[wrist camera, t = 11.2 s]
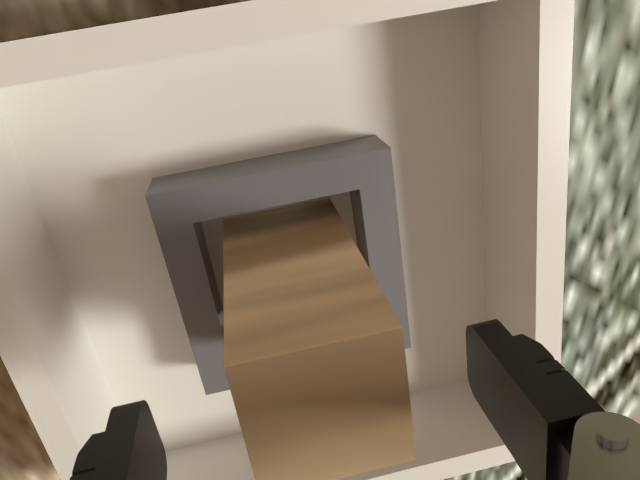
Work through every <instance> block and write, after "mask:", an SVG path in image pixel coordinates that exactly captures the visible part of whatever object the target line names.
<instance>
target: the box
mask: <svg viewBox="0 0 640 480" xmlns="http://www.w3.org/2000/svg"><path fill="white" fill-rule="evenodd" d="M573 25H574V0H250V1H244V2H238V3H233V4H227V5H221V6H215V7H209V8H203V9H197V10H191V11H185V12H179V13H173V14H167V15H162V16H156V17H150V18H144V19H138V20H132V21H126V22H120V23H114V24H108V25H102V26H96V27H91V28H85V29H79V30H73V31H67V32H61V33H55V34H49V35H43V36H37V37H31V38H26V39H20V40H14V41H8V42H2V43H0V357H1V359H2V361H3V363H4V365H5V367H6V369H7V371H8V373H9V375H10V377H11V379H12V381H13V383H14V385H15V387H16V389H17V391H18V393H19V396H20V398H21V400H22V402H23V404H24V406H25V408H26V410H27V412H28V414H29V416H30V418H31V420H32V422H33V424H34V426H35V428H36V430H37V432H38V434H39V437H40V439H41V441H42V443H43V445H44V447H45V449H46V451H47V453H48V455H49V457H50V459H51V461H52V463H53V465H54V467H55V469H56V471H57V473H58V475H59V478H60V480H70V477H72V471H73V467H74V464H75V461H76V458H77V455H78V453H79V451H80V450H81V449H82V447H83V446H84V445H85V443H86V442H87V441H88V439H89V438H90V437H91V435H92V434H96V433H101V432H105V429H106V426H107V422H108V418H109V414H110V411H111V409H112V408H113V407H115V406H120V405H124V404H128V403H133V402H137V401H141V400H145V401H146V402H147V403H148V405H149V408H150V410H151V413H152V416H153V419H154V421H155V424H156V427H157V429H158V432H159V435H160V438H161V440H162V443H163V446H164V449H165V453H166V460H167V479H166V480H255V478H254V474H253V470H252V467H251V463H250V460H249V456H248V452H247V449H246V445H245V442H244V438H243V434H242V431H241V427H240V424H239V420H238V416H237V413H236V409H235V406H234V402H233V398H232V395H231V391H230V388H229V384H228V380H227V377H226V373H225V369H224V273H223V219H228V218H233V217H238V216H243V215H248V214H253V213H258V212H263V211H268V210H273V209H278V208H283V207H288V206H293V205H298V204H303V203H308V202H313V201H318V200H322V199H327V198H330V199H331V201H332V203H333V205H334V207H335V208H336V210H337V212H338V214H339V215H340V217H341V219H342V221H343V222H344V224H345V226H346V228H347V230H348V231H349V233H350V235H351V237H352V238H353V240H354V242H355V244H356V246H357V247H358V249H359V251H360V253H361V254H362V256H363V258H364V260H365V262H366V263H367V265H368V267H369V269H370V270H371V272H372V274H373V276H374V278H375V279H376V281H377V283H378V285H379V286H380V288H381V290H382V292H383V294H384V295H385V297H386V299H387V301H388V302H389V304H390V306H391V308H392V309H393V311H394V313H395V315H396V317H397V318H398V320H399V322H400V324H401V325H402V327H403V336H404V346H405V355H406V365H407V375H408V384H409V394H410V403H411V413H412V422H413V432H414V442H415V451H416V460H412V461H408V462H404V463H400V464H396V465H392V466H388V467H383V468H379V469H375V470H371V471H367V472H363V473H359V474H355V475H351V476H347V477H343V478H339V479H335V480H443V479H447V478H451V477H454V476H458V475H462V474H466V473H470V472H474V471H478V470H482V469H486V468H490V467H494V466H498V465H501V464H505V463H509V462H513V461H515V459H514V458H513V456H512V455H511V453H510V452H509V450H508V449H507V447H506V445H505V444H504V442H503V441H502V439H501V438H500V436H499V435H498V433H497V432H496V430H495V429H494V427H493V425H492V424H491V422H490V421H489V419H488V418H487V416H486V415H485V413H484V412H483V410H482V408H481V407H480V405H479V404H478V402H477V401H476V399H475V397H474V395H473V393H472V391H471V388H470V385H469V381H468V375H467V356H466V327H467V326H468V325H472V324H476V323H480V322H485V321H489V320H493V319H497V320H499V321H500V322H501V323H502V324H503V326H504V327H505V328H506V329H507V330H508V331H509V332H510V333H511V335H512V336H515V335H519V334H524V335H526V336H528V337H530V338H531V339H533V340H535V341H537V342H539V343H541V344H542V345H543V346H544V347H545V348H546V349H547V350H548V351H549V352H550V353H551V354H552V356H553V357H554V359H555V360H557V361H558V362H559V363H560V364H561V339H562V313H563V287H564V261H565V234H566V208H567V182H568V156H569V130H570V104H571V77H572V51H573Z"/></svg>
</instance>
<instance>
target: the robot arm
mask: <svg viewBox="0 0 640 480" xmlns="http://www.w3.org/2000/svg"><path fill="white" fill-rule="evenodd" d="M466 356H467V375H468V381H469V385H470V388H471V391H472V393H473V395H474V397H475V399H476V401H477V402H478V404H479V405H480V407H481V408H482V410H483V412H484V413H485V415H486V416H487V418H488V419H489V421H490V422H491V424H492V425H493V427H494V429H495V430H496V432H497V433H498V435H499V436H500V438H501V439H502V441H503V442H504V444H505V445H506V447H507V449H508V450H509V452H510V453H511V455H512V456H513V458H514V459H515V461H516V462H517V464H518V466H519V467H520V469H521V470H522V472H523V473H524V475H525V476H526V478H527V479H528V480H640V424H638V423H637V422H635V421H634V420H632V419H630V418H628V417H626V416H623V415H620V414H616V413H612V412H605V411H604V409H603V408H602V407H601V406H600V405H599V404H598V403H597V402H596V401H595V400H594V399H593V398H592V397H591V396H590V395H589V394H588V393H587V391H586V390H585V389H584V388H583V387H582V386H581V385H580V384H579V383H578V382H577V381H576V380H575V379H574V378H573V377H572V376H571V375H570V374H569V372H568V371H565V368H564V367H563V366H562V365H561V364H560V363H559V362H558V361H557V360H555V359H554V357H553V356H552V354H551V353H550V352H549V351H548V350H547V349H546V348H545V347H544V346H543V345H542V344H541V343H539V342H537V341H535V340H533V339H531V338H530V337H528V336H526V335H524V334H519V335H515V336H512V335H511V333H510V332H509V331H508V330H507V329H506V328H505V327H504V326H503V324H502V323H501V322H500V321H499V320H497V319H493V320H489V321H485V322H480V323H476V324H472V325H468V326H467V327H466ZM166 479H167V460H166V453H165V449H164V446H163V443H162V440H161V438H160V435H159V432H158V429H157V427H156V424H155V421H154V419H153V416H152V413H151V410H150V408H149V405H148V403H147V402H146V401H145V400H141V401H137V402H133V403H128V404H124V405H120V406H115V407H113V408H112V409H111V411H110V414H109V418H108V422H107V426H106V429H105V432H101V433H96V434H92V435H91V437H90V438H89V439H88V441H87V442H86V443H85V445H84V446H83V447H82V449H81V450H80V451H79V453H78V455H77V458H76V461H75V464H74V467H73V471H72V477H70V480H166Z"/></svg>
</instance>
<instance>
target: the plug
mask: <svg viewBox="0 0 640 480" xmlns="http://www.w3.org/2000/svg"><path fill="white" fill-rule="evenodd" d="M223 273H224V369H225V373H226V377H227V380H228V384H229V388H230V391H231V395H232V398H233V402H234V406H235V409H236V413H237V416H238V420H239V424H240V427H241V431H242V434H243V438H244V442H245V445H246V449H247V452H248V456H249V460H250V463H251V467H252V470H253V474H254V478H255V480H335V479H339V478H343V477H347V476H351V475H355V474H359V473H363V472H367V471H371V470H375V469H379V468H383V467H388V466H392V465H396V464H400V463H404V462H408V461H412V460H416V451H415V442H414V432H413V422H412V413H411V403H410V394H409V384H408V375H407V365H406V355H405V346H404V336H403V327H402V325H401V324H400V322H399V320H398V318H397V317H396V315H395V313H394V311H393V309H392V308H391V306H390V304H389V302H388V301H387V299H386V297H385V295H384V294H383V292H382V290H381V288H380V286H379V285H378V283H377V281H376V279H375V278H374V276H373V274H372V272H371V270H370V269H369V267H368V265H367V263H366V262H365V260H364V258H363V256H362V254H361V253H360V251H359V249H358V247H357V246H356V244H355V242H354V240H353V238H352V237H351V235H350V233H349V231H348V230H347V228H346V226H345V224H344V222H343V221H342V219H341V217H340V215H339V214H338V212H337V210H336V208H335V207H334V205H333V203H332V201H331V199H330V198H327V199H322V200H318V201H313V202H308V203H303V204H298V205H293V206H288V207H283V208H278V209H273V210H268V211H263V212H258V213H253V214H248V215H243V216H238V217H233V218H228V219H223Z"/></svg>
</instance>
